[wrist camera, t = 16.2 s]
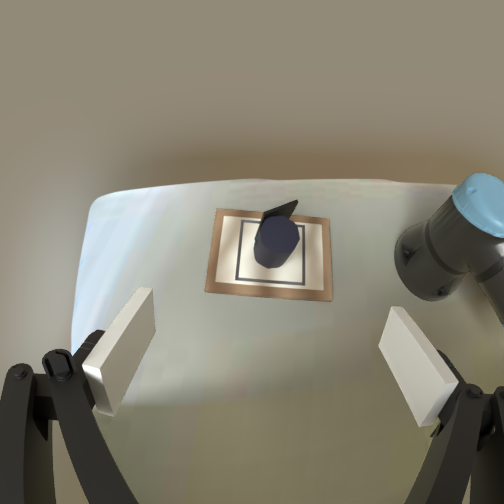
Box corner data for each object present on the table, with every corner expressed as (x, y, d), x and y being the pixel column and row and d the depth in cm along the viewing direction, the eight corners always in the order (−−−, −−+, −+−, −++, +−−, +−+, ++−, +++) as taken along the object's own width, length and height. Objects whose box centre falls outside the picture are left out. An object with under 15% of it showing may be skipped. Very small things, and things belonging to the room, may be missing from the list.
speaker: (249, 229, 50) (256, 197, 41) (282, 227, 51) (297, 197, 41) (253, 272, 48) (262, 250, 38) (289, 270, 49) (306, 247, 39)
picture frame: (327, 221, 54) (329, 218, 52) (330, 301, 47) (332, 299, 46) (216, 211, 53) (216, 207, 52) (205, 292, 47) (204, 289, 46)
